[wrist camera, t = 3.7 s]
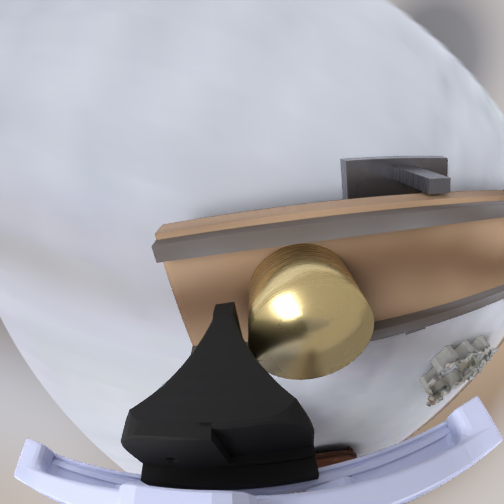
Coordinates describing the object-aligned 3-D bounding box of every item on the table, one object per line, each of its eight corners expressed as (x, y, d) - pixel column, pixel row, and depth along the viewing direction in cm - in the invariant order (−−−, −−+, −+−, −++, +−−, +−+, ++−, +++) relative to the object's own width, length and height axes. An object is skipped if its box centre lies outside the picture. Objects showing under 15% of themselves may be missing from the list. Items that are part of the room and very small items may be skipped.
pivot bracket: (426, 290, 19) (454, 321, 15) (341, 311, 19) (362, 352, 15) (440, 156, 14) (484, 168, 10) (340, 159, 15) (375, 171, 11)
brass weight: (348, 319, 14) (367, 366, 11) (257, 335, 14) (259, 386, 11) (348, 235, 12) (379, 274, 9) (239, 253, 12) (235, 299, 9)
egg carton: (411, 385, 26) (424, 409, 22) (439, 341, 23) (457, 366, 19) (462, 370, 27) (474, 389, 23) (487, 330, 24) (503, 349, 20)
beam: (522, 275, 15) (534, 286, 13) (200, 344, 16) (196, 366, 15) (540, 190, 11) (555, 197, 9) (162, 224, 13) (149, 240, 11)
